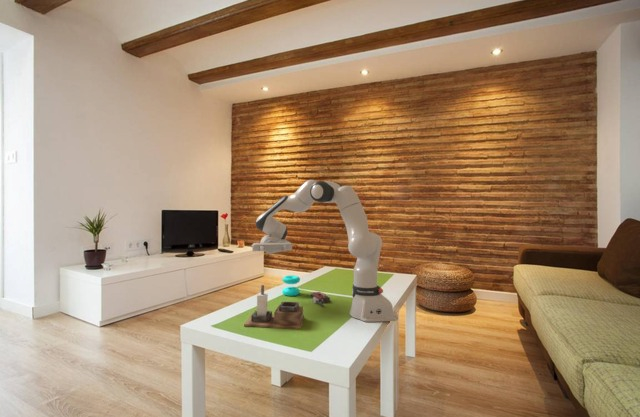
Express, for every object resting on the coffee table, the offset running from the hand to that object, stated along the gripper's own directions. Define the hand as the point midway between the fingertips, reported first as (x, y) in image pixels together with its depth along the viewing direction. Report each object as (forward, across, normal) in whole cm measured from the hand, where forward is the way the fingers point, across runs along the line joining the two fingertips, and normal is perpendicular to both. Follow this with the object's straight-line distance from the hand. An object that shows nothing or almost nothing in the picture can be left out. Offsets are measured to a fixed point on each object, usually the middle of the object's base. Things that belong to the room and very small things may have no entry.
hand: (274, 248), depth 157 cm
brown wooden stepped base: (+18, -1, +30) cm, 35 cm away
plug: (+15, -7, +29) cm, 33 cm away
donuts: (-24, +14, +30) cm, 41 cm away
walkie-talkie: (-6, +27, +30) cm, 41 cm away
